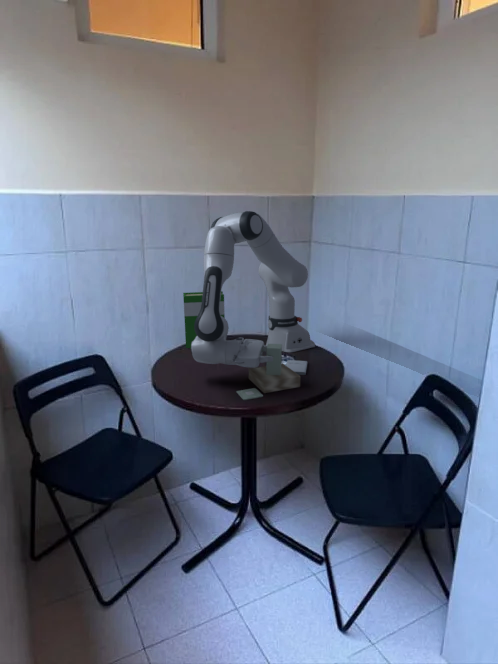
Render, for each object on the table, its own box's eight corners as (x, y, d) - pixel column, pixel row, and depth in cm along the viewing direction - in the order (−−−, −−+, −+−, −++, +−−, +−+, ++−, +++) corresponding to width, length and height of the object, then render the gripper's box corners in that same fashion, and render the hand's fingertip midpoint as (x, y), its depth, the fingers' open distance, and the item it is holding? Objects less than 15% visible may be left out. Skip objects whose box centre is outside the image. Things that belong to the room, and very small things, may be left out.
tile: (255, 388, 157) (255, 387, 157) (263, 396, 151) (263, 395, 151) (236, 392, 154) (236, 390, 154) (244, 400, 148) (243, 398, 148)
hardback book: (223, 341, 209) (222, 291, 203) (225, 346, 202) (224, 294, 196) (185, 343, 207) (183, 292, 200) (186, 348, 200) (183, 296, 193)
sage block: (267, 369, 164) (267, 343, 161) (281, 370, 163) (281, 344, 160) (266, 374, 159) (266, 348, 156) (280, 375, 158) (280, 348, 156)
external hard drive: (283, 374, 171) (287, 363, 182) (305, 376, 169) (307, 364, 181) (283, 370, 170) (287, 359, 182) (305, 372, 169) (307, 360, 181)
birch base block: (282, 373, 171) (282, 363, 170) (300, 386, 159) (300, 376, 157) (248, 378, 166) (248, 368, 165) (264, 393, 153) (264, 382, 152)
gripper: (230, 353, 150) (271, 355, 148) (239, 336, 169) (276, 337, 168) (231, 371, 152) (271, 373, 150) (240, 351, 171) (276, 353, 169)
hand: (274, 354), depth 159 cm, fingers open, 8 cm apart
